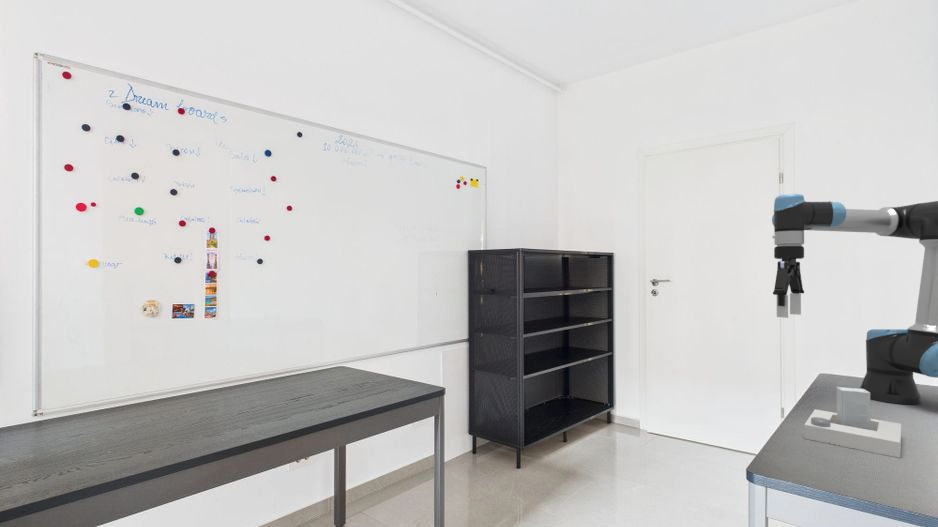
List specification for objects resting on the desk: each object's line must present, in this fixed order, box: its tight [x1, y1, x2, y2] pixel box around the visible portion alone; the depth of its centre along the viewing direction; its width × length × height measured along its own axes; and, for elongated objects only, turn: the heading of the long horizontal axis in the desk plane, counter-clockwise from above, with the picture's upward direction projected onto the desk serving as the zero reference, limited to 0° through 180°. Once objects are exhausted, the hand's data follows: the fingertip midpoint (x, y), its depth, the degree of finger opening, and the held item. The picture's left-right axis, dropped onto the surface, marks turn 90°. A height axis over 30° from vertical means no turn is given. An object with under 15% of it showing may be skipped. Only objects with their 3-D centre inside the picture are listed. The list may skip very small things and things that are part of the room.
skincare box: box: [836, 386, 872, 430], centre depth 123 cm, size 6×4×12 cm
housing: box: [803, 409, 902, 459], centre depth 121 cm, size 18×18×5 cm
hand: (789, 315), depth 144 cm, fingers open, 13 cm apart
